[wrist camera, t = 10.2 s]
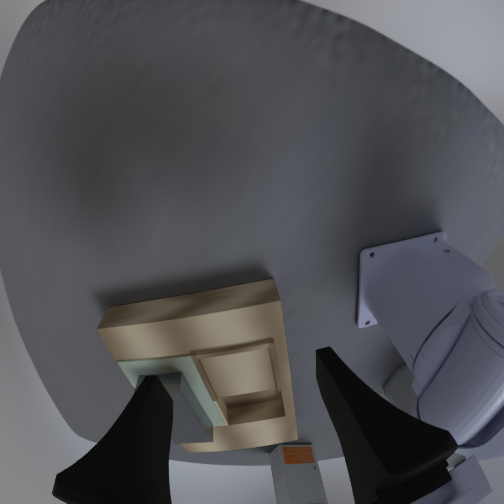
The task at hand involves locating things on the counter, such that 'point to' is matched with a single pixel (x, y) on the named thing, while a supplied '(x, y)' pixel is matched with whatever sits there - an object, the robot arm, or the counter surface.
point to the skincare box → (296, 475)
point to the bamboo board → (215, 358)
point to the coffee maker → (409, 400)
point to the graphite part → (185, 410)
